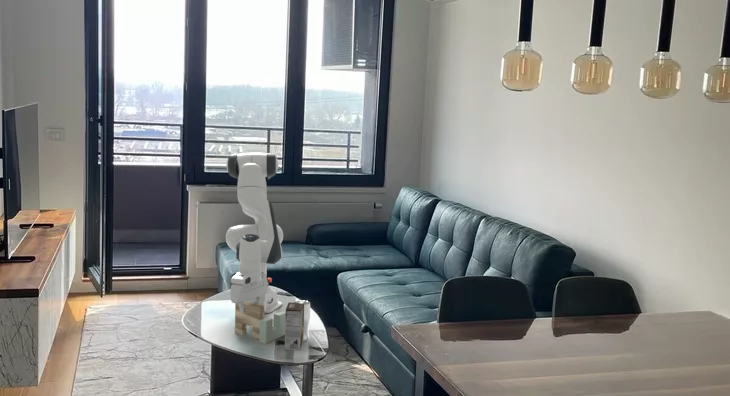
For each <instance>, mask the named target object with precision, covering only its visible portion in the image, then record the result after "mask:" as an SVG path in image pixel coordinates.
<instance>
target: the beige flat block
mask: <svg viewBox="0 0 730 396" xmlns="http://www.w3.org/2000/svg"><path fill="white" fill-rule="evenodd" d="M234 305H235V310H234V312H235V313H234V314H235V315H234V334H237V335H240V336H243V335H245V334H247V327H248V326H249V327H251V329H252V330H251V331H252V332H251V334H252V335H251V337H252V338H253V337H254V338H253V339H258V338H259V335H260V320H262V319H264V318H265V313H264V305H260V304H255V303H250V302H244V304H243V306H244V308H245V312H243V313H241V312H240V308H239V306H238V304H236V303H234Z"/></svg>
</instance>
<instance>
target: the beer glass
mask: <svg viewBox="0 0 730 396" xmlns="http://www.w3.org/2000/svg"><path fill="white" fill-rule="evenodd" d="M293 303H304V337H303V343H304V342H307V341H308V340H309V334H308V333H309V332H308V331H309V324H310V320H311V319H310V318H311V302H310V301H308V300H295V301H293Z"/></svg>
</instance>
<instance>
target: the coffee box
mask: <svg viewBox="0 0 730 396" xmlns="http://www.w3.org/2000/svg"><path fill="white" fill-rule="evenodd" d="M285 308H286V309H285V313H286V321H285V335H284V350H285V351H286V350H288V351H301V350H302V347H303V345H304V342H303V337H304V303H294V302H288V303H287V305H286V307H285Z"/></svg>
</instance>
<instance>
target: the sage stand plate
mask: <svg viewBox="0 0 730 396" xmlns="http://www.w3.org/2000/svg"><path fill="white" fill-rule="evenodd" d="M285 321H286V311H285V312H284V311H277V312H275V313H274V314H273V318H272V317H264V319H262V320H260V335H259V342H260V344H264V345H266V344H269V343H270V342H272V341H274V340H278V339H279V338H280V337H283V336H285Z"/></svg>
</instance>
